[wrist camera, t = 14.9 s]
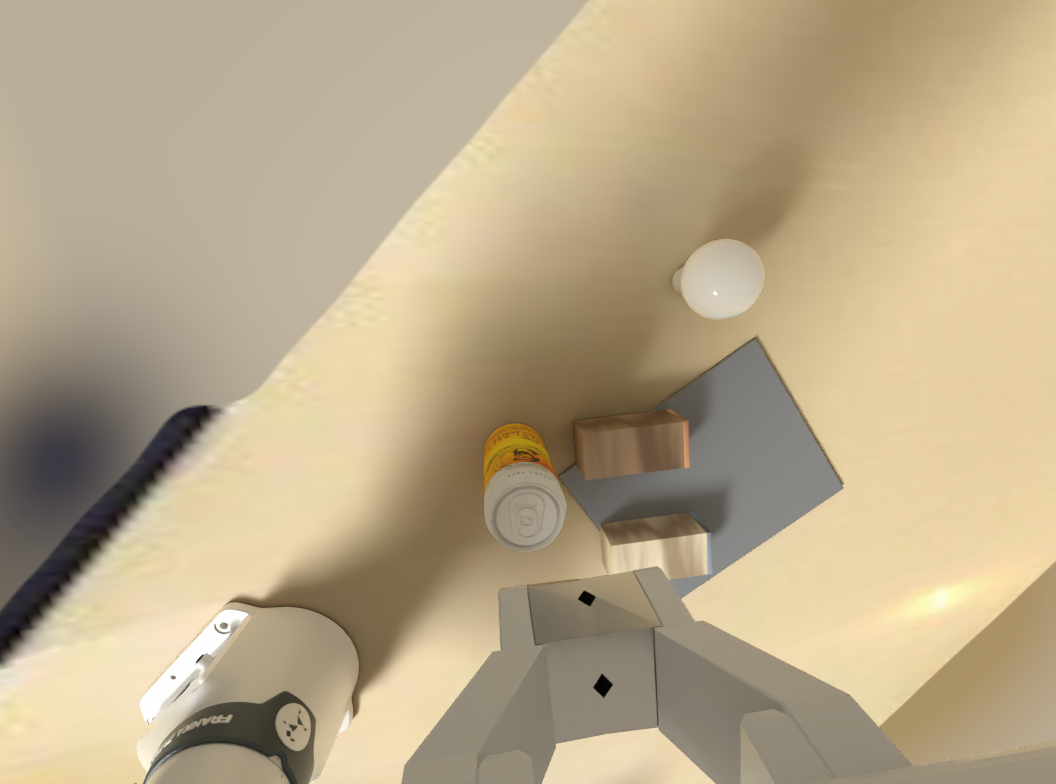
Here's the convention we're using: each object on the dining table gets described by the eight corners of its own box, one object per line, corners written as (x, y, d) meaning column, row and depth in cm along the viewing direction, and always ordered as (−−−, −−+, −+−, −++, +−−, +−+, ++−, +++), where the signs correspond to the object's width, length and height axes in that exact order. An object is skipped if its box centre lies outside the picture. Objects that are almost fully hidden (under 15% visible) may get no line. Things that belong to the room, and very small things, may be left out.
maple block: (711, 532, 48) (610, 545, 47) (712, 574, 49) (613, 587, 48) (692, 511, 52) (600, 523, 52) (693, 550, 53) (602, 562, 53)
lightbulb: (638, 290, 47) (683, 291, 36) (677, 233, 46) (735, 217, 36) (688, 326, 48) (747, 338, 38) (727, 271, 48) (798, 267, 37)
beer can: (544, 420, 49) (570, 476, 34) (544, 477, 50) (568, 555, 36) (483, 421, 49) (483, 480, 34) (484, 479, 50) (485, 559, 35)
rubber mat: (659, 609, 55) (660, 612, 54) (558, 476, 50) (559, 477, 50) (841, 486, 54) (843, 488, 53) (753, 338, 49) (755, 338, 49)
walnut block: (688, 421, 45) (581, 433, 44) (689, 467, 46) (584, 480, 45) (670, 409, 50) (572, 420, 49) (671, 451, 51) (576, 463, 50)
